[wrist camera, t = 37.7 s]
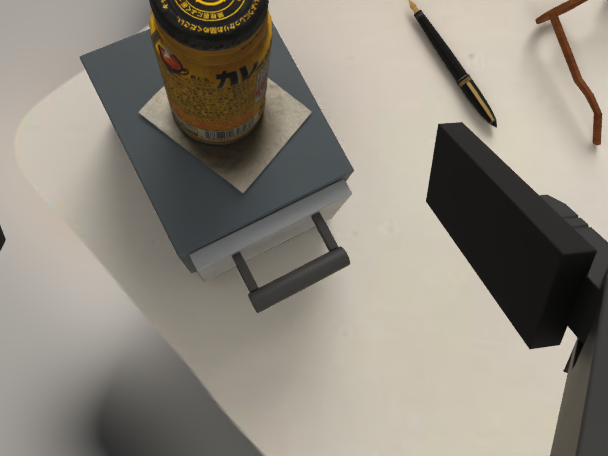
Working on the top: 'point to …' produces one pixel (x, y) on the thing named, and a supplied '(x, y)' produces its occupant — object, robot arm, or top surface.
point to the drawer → (273, 233)
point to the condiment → (220, 85)
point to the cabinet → (193, 172)
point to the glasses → (553, 17)
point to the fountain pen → (455, 67)
